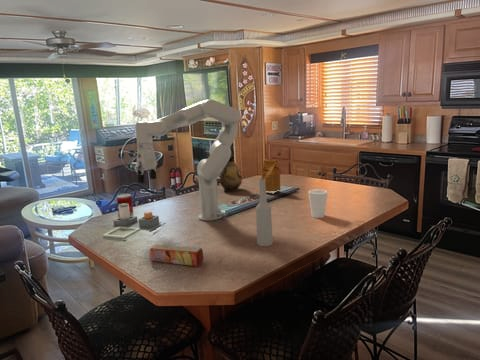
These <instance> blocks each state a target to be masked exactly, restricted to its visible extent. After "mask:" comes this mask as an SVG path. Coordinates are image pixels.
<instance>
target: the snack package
mask: <svg viewBox="0 0 480 360" xmlns="http://www.w3.org/2000/svg"><path fill="white" fill-rule="evenodd" d="M149 259H150V261H151V262H156V263H157V262H158V263H159V262H160V263H166V264H173V265H183V266H192V267H196V268H197V267H200V265H201V264H202V263H203V261H204V251H203V248H202V247H201V246H200V247H199V246H198V247H197V246H184V245H183V246H182V245H173V244H172V245H169V244H157V243H156V244H154V245H152V246H151V247H150V249H149Z"/></svg>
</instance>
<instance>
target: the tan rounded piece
mask: <svg viewBox="0 0 480 360" xmlns="http://www.w3.org/2000/svg"><path fill="white" fill-rule="evenodd" d="M143 215H144V216H143V217H144V218H145V219H152V218H153V212H152V211H145V212H143Z"/></svg>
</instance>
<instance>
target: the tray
mask: <svg viewBox="0 0 480 360" xmlns="http://www.w3.org/2000/svg"><path fill="white" fill-rule="evenodd" d="M119 230H131V231H130V232H129V233H127V234H124V235H116V234H114V233H115V232H117V231H119ZM139 231H141V228H133V227H122V226H117V227H115V228H114V229H112V230H110V231H108V232H106V233H104V234H102V237H103V240H104V239H105V241H114V242H115V241H116V242H123V243H124V242H127V241H128V239H126V238H128V237H130V236H132V235H134V234H135V233H137V232H139Z"/></svg>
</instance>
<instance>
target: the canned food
mask: <svg viewBox="0 0 480 360" xmlns="http://www.w3.org/2000/svg"><path fill="white" fill-rule="evenodd" d="M132 198H133V197H132V194H131V193H122V194H119V195H117V196H116V200H117V201H116V202H117V209H118V211H119V206H118V205H119V204H122V203H128V204H129V211H130V213H132V212H134V208H133V207H134V206H133V199H132Z"/></svg>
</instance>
